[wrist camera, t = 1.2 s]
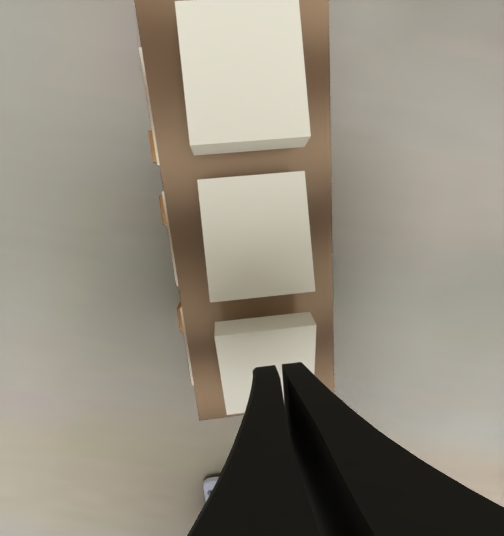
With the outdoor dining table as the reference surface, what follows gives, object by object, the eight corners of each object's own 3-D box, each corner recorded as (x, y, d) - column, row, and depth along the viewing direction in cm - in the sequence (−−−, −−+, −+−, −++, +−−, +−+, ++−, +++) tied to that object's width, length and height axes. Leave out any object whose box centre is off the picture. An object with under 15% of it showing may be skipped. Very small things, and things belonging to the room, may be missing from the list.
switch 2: (309, 288, 13) (315, 291, 12) (211, 299, 13) (209, 302, 12) (299, 177, 13) (304, 170, 12) (200, 185, 12) (197, 179, 11)
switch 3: (307, 388, 15) (313, 404, 14) (226, 398, 15) (226, 415, 14) (310, 311, 13) (316, 325, 12) (215, 321, 13) (214, 336, 12)
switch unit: (319, 373, 20) (342, 418, 16) (197, 387, 19) (188, 438, 15) (308, 16, 15) (339, -53, 11) (142, 25, 14) (107, -44, 10)
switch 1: (304, 146, 11) (310, 136, 10) (193, 155, 11) (189, 145, 10) (292, 18, 11) (298, -5, 10) (180, 24, 11) (174, 1, 10)
